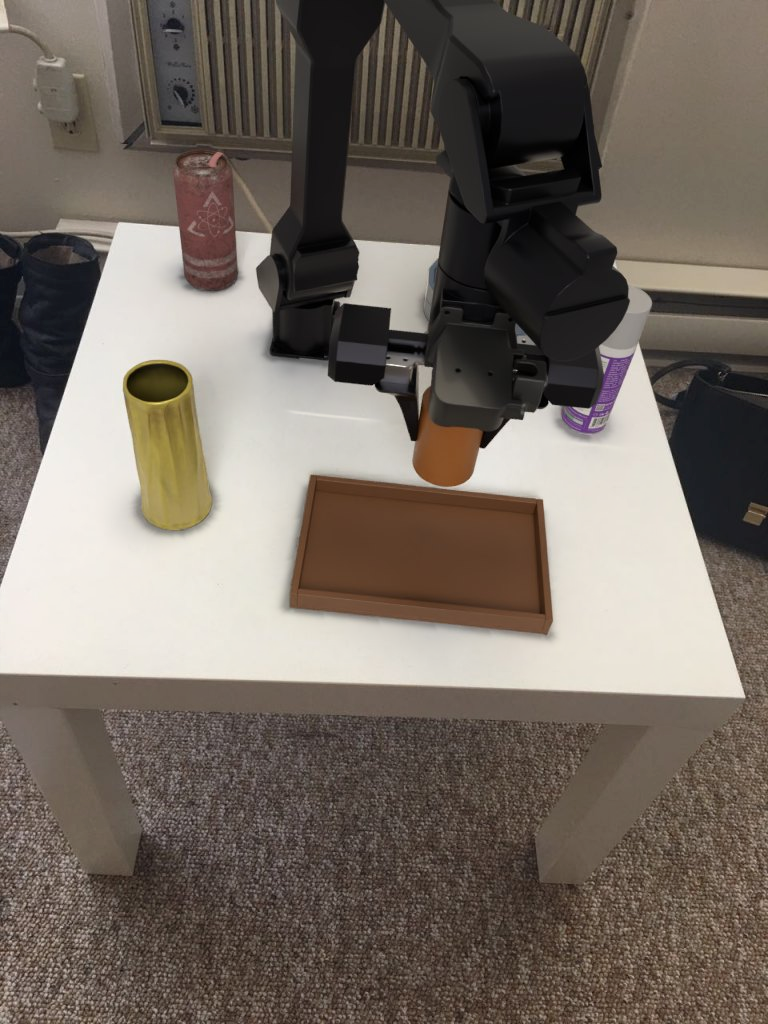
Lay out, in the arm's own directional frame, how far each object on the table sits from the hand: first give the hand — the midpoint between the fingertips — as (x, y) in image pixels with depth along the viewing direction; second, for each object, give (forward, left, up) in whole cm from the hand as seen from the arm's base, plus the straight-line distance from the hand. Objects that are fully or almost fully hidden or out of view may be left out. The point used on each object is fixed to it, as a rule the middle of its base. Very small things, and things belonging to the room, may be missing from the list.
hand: (447, 441), depth 64 cm
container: (+16, +18, -12) cm, 27 cm away
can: (-26, +36, -12) cm, 46 cm away
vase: (-22, +1, -12) cm, 26 cm away
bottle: (0, 0, -3) cm, 3 cm away
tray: (0, -2, -12) cm, 12 cm away
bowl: (+6, +34, -12) cm, 37 cm away
